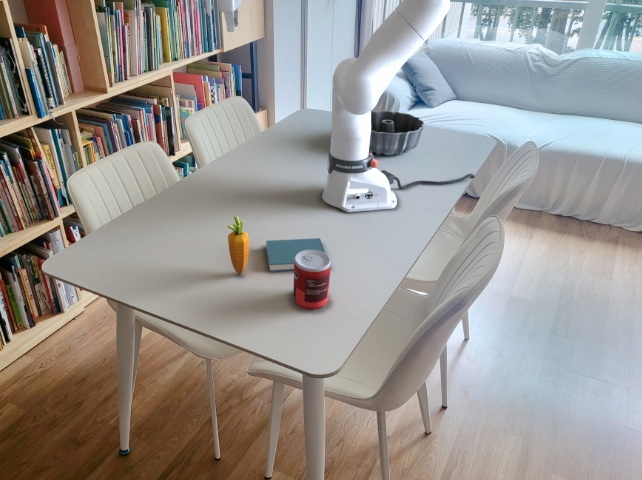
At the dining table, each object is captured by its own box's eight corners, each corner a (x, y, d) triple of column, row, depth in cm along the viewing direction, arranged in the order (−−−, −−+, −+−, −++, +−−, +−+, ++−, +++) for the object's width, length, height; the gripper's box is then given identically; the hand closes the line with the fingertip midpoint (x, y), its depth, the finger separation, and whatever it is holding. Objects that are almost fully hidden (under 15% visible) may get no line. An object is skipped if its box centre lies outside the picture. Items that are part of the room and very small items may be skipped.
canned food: (304, 285, 121) (306, 245, 115) (334, 298, 117) (338, 257, 111) (286, 302, 116) (286, 260, 110) (316, 315, 112) (318, 273, 106)
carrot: (247, 281, 122) (245, 225, 114) (226, 279, 123) (223, 223, 114) (252, 270, 126) (251, 215, 118) (232, 267, 127) (230, 212, 118)
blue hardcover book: (319, 245, 136) (320, 238, 135) (327, 268, 127) (327, 261, 126) (266, 247, 135) (266, 240, 133) (269, 271, 126) (269, 264, 124)
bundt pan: (334, 145, 195) (336, 119, 190) (379, 130, 210) (382, 105, 204) (390, 167, 180) (394, 139, 174) (434, 149, 194) (439, 122, 189)
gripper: (236, -35, 114) (242, 34, 121) (244, -38, 131) (248, 23, 138) (207, -34, 114) (215, 35, 121) (219, -37, 131) (225, 24, 139)
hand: (233, 28), depth 130 cm, fingers open, 8 cm apart
